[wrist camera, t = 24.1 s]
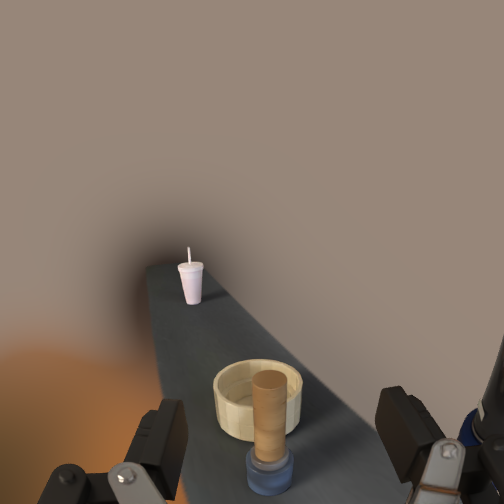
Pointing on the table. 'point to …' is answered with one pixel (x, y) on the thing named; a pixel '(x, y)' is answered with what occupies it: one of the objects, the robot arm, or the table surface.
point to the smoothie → (191, 280)
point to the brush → (269, 436)
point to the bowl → (240, 396)
